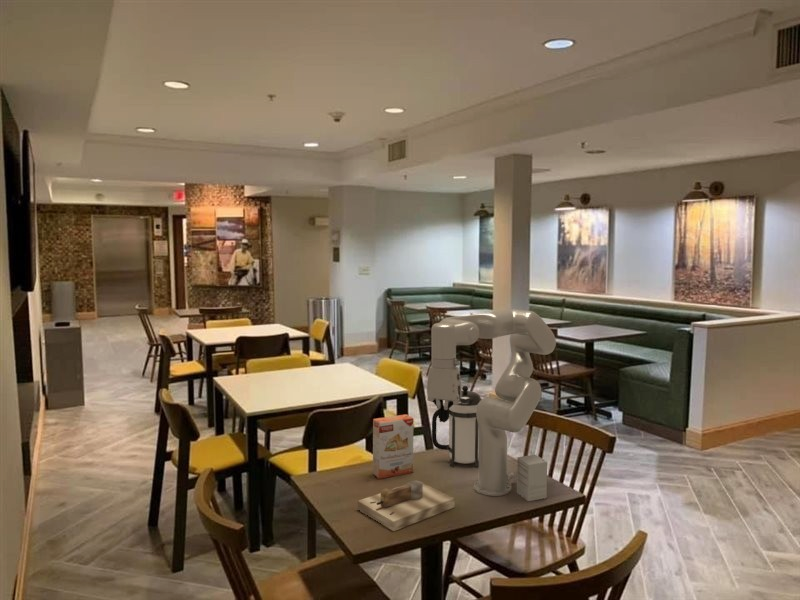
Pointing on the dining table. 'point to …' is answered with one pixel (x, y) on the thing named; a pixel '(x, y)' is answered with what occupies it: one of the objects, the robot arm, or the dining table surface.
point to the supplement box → (532, 477)
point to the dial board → (407, 508)
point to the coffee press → (461, 430)
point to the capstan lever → (401, 493)
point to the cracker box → (392, 446)
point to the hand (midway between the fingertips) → (443, 420)
